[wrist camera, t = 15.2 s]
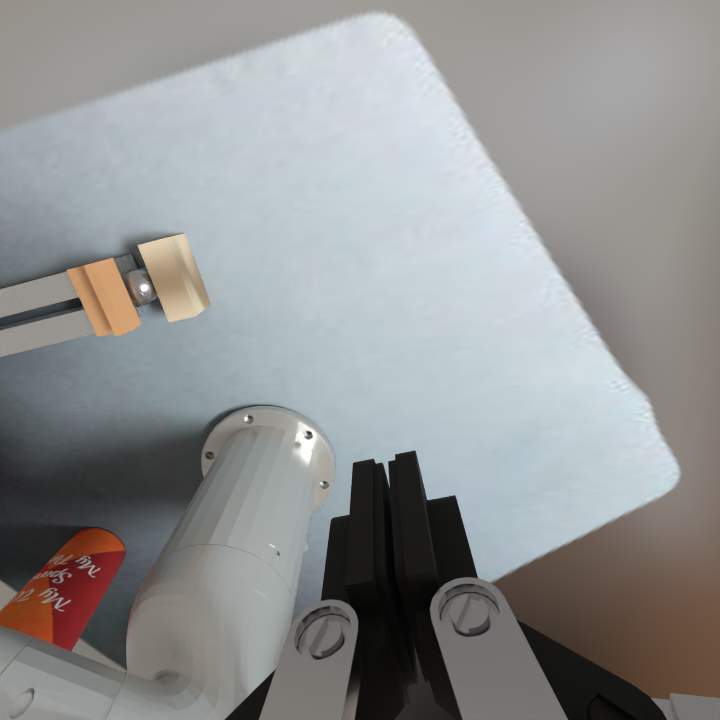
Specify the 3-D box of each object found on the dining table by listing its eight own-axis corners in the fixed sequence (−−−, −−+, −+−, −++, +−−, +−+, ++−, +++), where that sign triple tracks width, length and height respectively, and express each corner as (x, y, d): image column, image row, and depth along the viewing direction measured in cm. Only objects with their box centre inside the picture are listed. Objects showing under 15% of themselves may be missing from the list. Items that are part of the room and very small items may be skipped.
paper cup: (118, 513, 46) (17, 642, 33) (147, 570, 49) (64, 710, 36) (48, 525, 47) (-77, 656, 34) (80, 581, 49) (-25, 722, 36)
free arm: (173, 293, 38) (155, 302, 34) (-31, 345, 40) (-66, 358, 36) (155, 246, 36) (134, 252, 33) (-56, 303, 38) (-94, 313, 35)
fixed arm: (144, 315, 39) (122, 327, 35) (-23, 356, 40) (-59, 371, 37) (134, 291, 38) (111, 302, 34) (-35, 334, 40) (-73, 348, 36)
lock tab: (141, 324, 35) (125, 333, 32) (103, 333, 35) (85, 343, 33) (112, 257, 33) (93, 262, 31) (73, 268, 33) (51, 273, 31)
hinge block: (211, 304, 38) (195, 316, 35) (186, 310, 38) (168, 322, 35) (184, 233, 36) (165, 237, 33) (159, 239, 36) (137, 245, 33)
